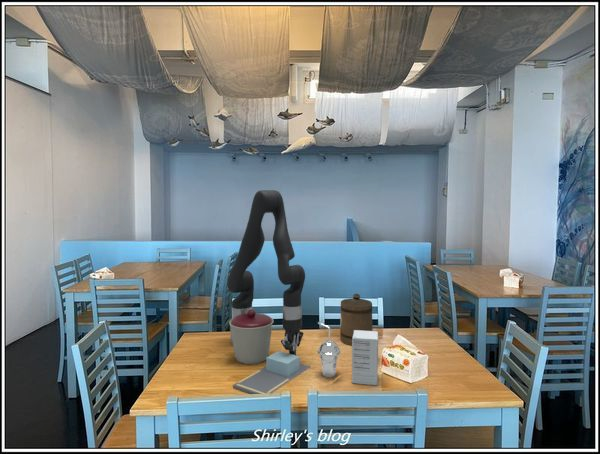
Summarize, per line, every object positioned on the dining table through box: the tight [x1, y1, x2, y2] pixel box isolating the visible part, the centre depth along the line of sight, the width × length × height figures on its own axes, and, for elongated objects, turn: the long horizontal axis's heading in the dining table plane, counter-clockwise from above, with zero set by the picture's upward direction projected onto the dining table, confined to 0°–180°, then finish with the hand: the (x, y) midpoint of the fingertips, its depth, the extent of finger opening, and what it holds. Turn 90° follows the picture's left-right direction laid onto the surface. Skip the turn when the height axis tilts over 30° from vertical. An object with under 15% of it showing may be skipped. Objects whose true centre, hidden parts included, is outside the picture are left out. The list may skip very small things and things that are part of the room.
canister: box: [228, 309, 274, 365], centre depth 164 cm, size 18×18×21 cm
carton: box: [265, 350, 301, 377], centre depth 153 cm, size 10×8×5 cm
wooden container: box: [339, 293, 373, 346], centre depth 186 cm, size 15×15×22 cm
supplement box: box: [351, 330, 379, 386], centre depth 147 cm, size 10×9×17 cm
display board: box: [232, 363, 312, 395], centre depth 148 cm, size 15×28×1 cm, turn 146°
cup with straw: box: [317, 321, 341, 378], centre depth 148 cm, size 8×9×20 cm
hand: (292, 358), depth 158 cm, fingers closed
